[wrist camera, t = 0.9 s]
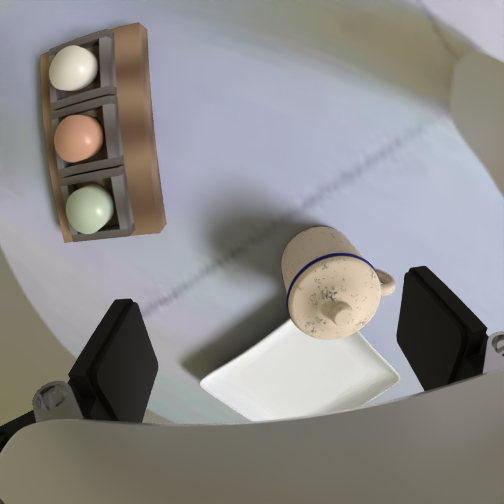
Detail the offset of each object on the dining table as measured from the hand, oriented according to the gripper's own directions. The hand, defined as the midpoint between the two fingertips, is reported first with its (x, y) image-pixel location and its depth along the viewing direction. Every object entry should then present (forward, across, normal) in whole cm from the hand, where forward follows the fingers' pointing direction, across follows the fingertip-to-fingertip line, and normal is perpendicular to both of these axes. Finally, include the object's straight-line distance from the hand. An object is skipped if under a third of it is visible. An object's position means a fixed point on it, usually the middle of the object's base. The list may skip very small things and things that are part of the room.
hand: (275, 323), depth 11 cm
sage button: (+20, +16, -1) cm, 26 cm away
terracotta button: (+20, +16, -8) cm, 27 cm away
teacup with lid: (+25, -7, +10) cm, 28 cm away
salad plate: (+25, -4, +26) cm, 36 cm away
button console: (+24, +16, -8) cm, 30 cm away
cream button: (+20, +16, -15) cm, 30 cm away
